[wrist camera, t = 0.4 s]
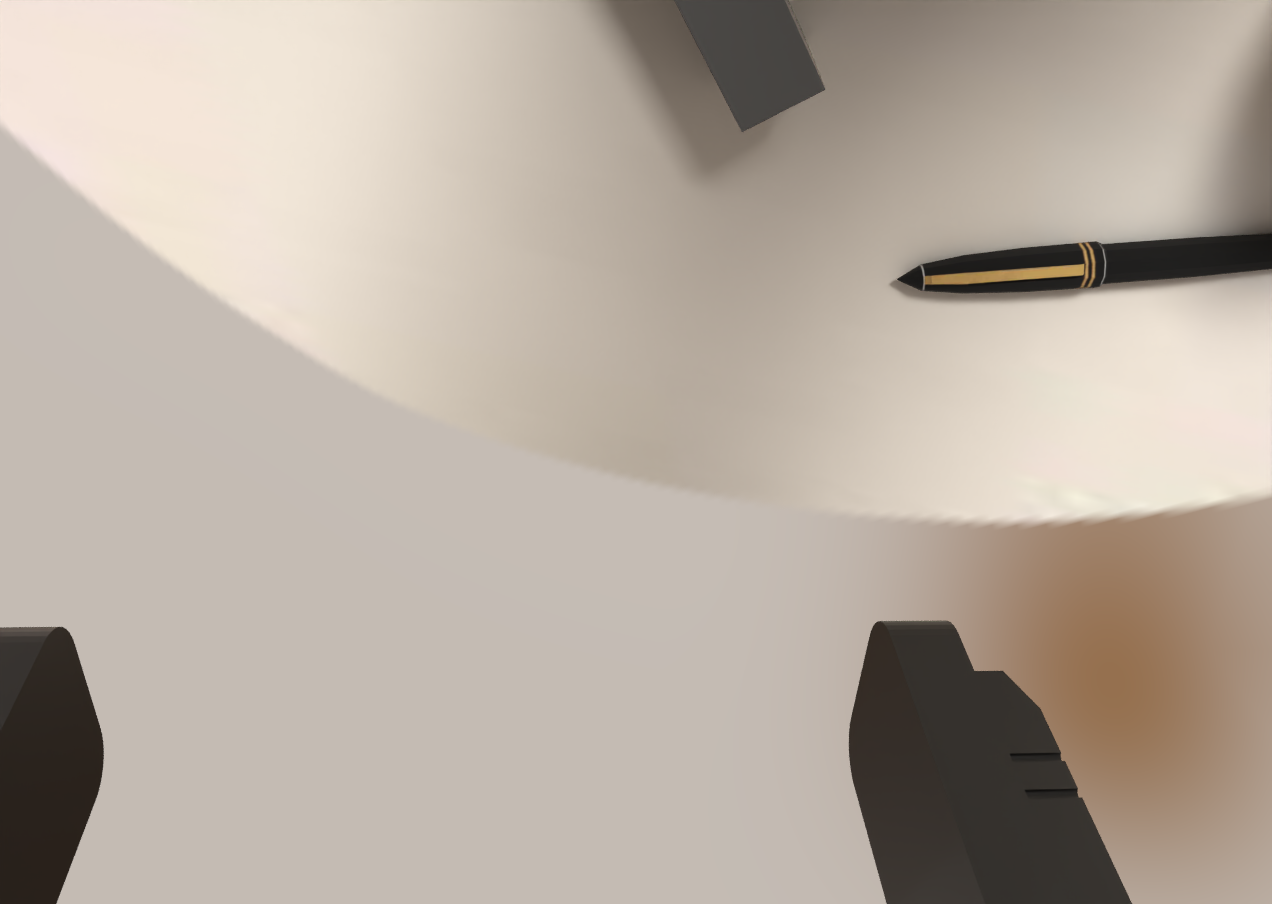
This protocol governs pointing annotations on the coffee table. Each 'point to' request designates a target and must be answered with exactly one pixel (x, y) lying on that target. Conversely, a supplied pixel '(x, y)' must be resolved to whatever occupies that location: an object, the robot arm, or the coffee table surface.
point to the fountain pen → (1092, 264)
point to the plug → (753, 55)
